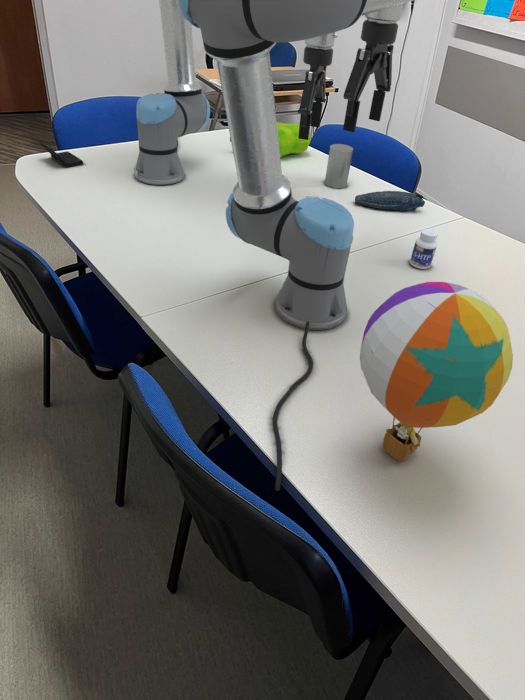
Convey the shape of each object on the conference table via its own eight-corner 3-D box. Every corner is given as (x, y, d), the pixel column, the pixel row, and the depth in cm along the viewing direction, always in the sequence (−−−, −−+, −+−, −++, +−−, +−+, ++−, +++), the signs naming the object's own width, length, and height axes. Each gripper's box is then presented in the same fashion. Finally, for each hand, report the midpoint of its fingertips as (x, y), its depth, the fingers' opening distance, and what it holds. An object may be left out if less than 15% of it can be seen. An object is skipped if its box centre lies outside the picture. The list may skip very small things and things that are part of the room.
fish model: (423, 215, 157) (428, 199, 154) (354, 208, 158) (357, 191, 155) (420, 206, 162) (425, 191, 159) (353, 199, 163) (356, 184, 160)
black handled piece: (88, 157, 170) (65, 134, 161) (76, 174, 168) (53, 153, 160) (67, 152, 176) (45, 131, 168) (56, 170, 175) (33, 149, 166)
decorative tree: (227, 117, 189) (306, 117, 195) (226, 146, 196) (303, 145, 201) (234, 131, 176) (319, 131, 181) (233, 162, 182) (315, 161, 187)
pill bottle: (408, 266, 131) (417, 234, 126) (410, 257, 135) (419, 225, 130) (429, 271, 130) (439, 239, 125) (431, 262, 134) (441, 230, 129)
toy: (311, 442, 83) (343, 281, 64) (387, 392, 94) (434, 241, 75) (410, 529, 72) (484, 365, 53) (484, 461, 83) (567, 304, 64)
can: (328, 178, 176) (334, 142, 169) (349, 183, 174) (355, 146, 167) (321, 185, 171) (327, 148, 163) (343, 190, 169) (349, 153, 161)
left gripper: (322, 55, 123) (311, 146, 137) (342, 42, 142) (331, 123, 156) (292, 51, 125) (284, 142, 138) (316, 39, 144) (307, 120, 157)
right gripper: (389, 15, 120) (370, 112, 134) (338, 21, 104) (322, 131, 117) (419, 20, 117) (397, 119, 130) (372, 27, 101) (352, 139, 114)
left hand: (309, 132), depth 147 cm, fingers open, 13 cm apart
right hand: (362, 125), depth 124 cm, fingers open, 13 cm apart
